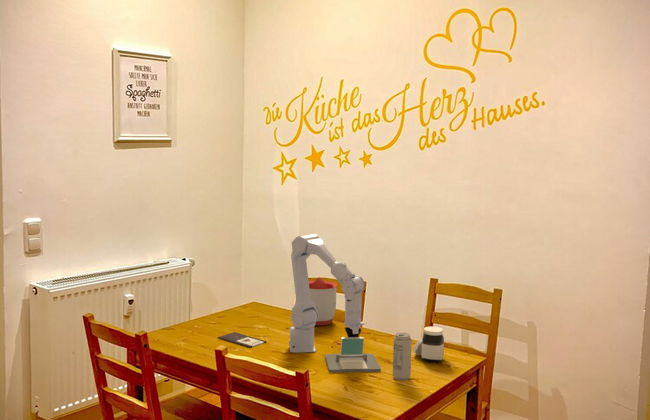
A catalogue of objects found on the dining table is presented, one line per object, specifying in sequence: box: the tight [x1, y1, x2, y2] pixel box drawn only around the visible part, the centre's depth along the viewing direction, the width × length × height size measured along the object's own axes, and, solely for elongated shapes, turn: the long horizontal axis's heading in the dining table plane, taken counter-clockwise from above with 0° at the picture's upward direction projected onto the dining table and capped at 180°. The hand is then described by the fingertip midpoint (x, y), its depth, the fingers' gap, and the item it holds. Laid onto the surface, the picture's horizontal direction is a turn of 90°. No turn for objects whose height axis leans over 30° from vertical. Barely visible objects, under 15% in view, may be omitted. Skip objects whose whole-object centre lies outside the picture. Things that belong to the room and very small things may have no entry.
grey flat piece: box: [324, 353, 382, 374], centre depth 236 cm, size 18×16×3 cm
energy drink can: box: [392, 332, 413, 382], centre depth 222 cm, size 6×6×15 cm
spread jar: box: [413, 326, 445, 364], centre depth 243 cm, size 12×11×12 cm
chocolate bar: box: [217, 331, 267, 349], centre depth 261 cm, size 9×1×18 cm
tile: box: [340, 336, 365, 355], centre depth 236 cm, size 8×7×1 cm
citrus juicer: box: [309, 277, 338, 326], centre depth 286 cm, size 16×17×20 cm
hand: (352, 347), depth 237 cm, fingers closed, pressing on tile
